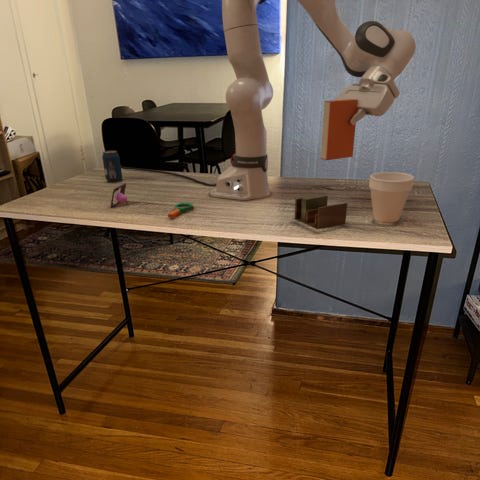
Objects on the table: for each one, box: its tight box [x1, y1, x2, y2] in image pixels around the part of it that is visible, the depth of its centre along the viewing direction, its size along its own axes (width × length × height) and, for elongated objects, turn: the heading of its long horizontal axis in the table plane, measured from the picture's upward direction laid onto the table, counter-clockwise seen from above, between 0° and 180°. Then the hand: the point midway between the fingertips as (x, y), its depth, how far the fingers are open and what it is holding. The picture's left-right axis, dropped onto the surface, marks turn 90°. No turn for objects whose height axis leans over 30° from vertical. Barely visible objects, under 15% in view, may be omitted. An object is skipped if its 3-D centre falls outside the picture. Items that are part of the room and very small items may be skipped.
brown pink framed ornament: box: [110, 183, 130, 208], centre depth 161 cm, size 7×5×9 cm
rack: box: [293, 193, 348, 230], centre depth 136 cm, size 12×11×8 cm
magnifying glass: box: [167, 202, 194, 219], centre depth 151 cm, size 15×6×2 cm, turn 164°
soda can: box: [101, 150, 123, 184], centre depth 192 cm, size 7×7×12 cm
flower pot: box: [368, 171, 415, 223], centre depth 135 cm, size 12×12×14 cm
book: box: [320, 99, 358, 161], centre depth 136 cm, size 3×10×16 cm, turn 119°
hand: (345, 123), depth 136 cm, fingers closed on book, 3 cm apart
